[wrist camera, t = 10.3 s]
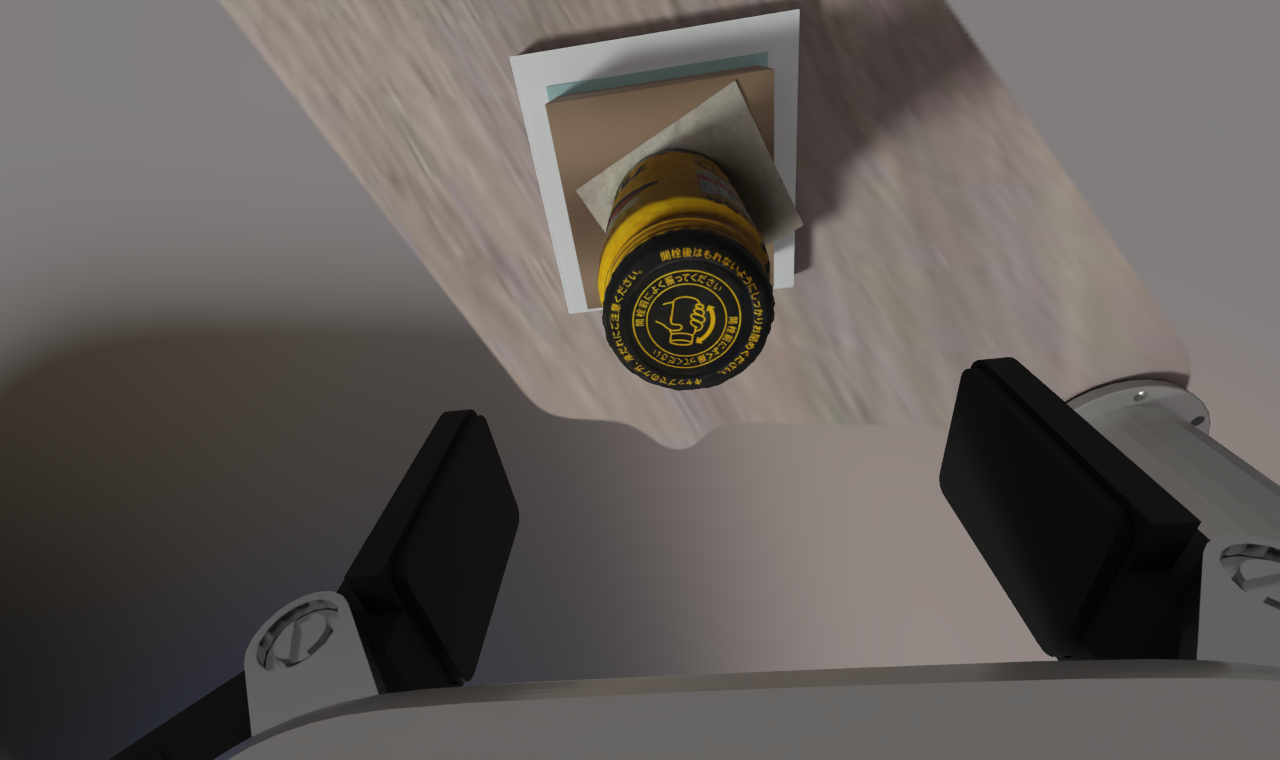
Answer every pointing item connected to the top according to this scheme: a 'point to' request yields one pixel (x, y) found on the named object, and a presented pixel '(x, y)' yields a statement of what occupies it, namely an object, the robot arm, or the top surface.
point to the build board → (650, 61)
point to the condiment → (691, 246)
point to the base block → (636, 140)
